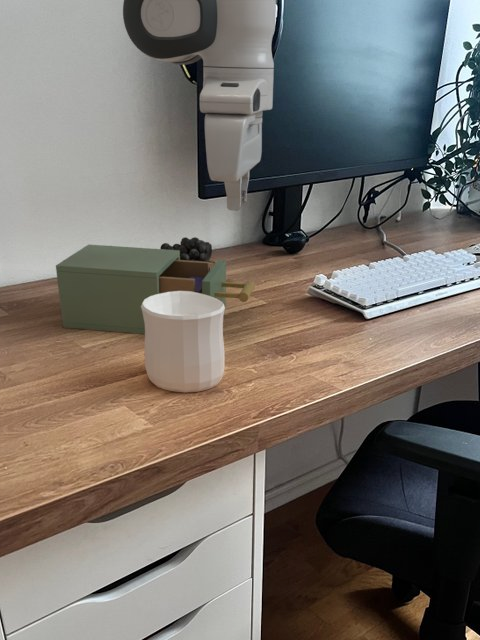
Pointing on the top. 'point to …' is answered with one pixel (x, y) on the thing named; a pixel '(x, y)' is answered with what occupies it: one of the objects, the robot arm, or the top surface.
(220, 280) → the drawer
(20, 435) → the top surface
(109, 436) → the top surface
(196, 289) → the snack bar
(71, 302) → the cabinet
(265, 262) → the top surface
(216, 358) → the cup
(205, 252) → the fruit
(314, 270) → the top surface
